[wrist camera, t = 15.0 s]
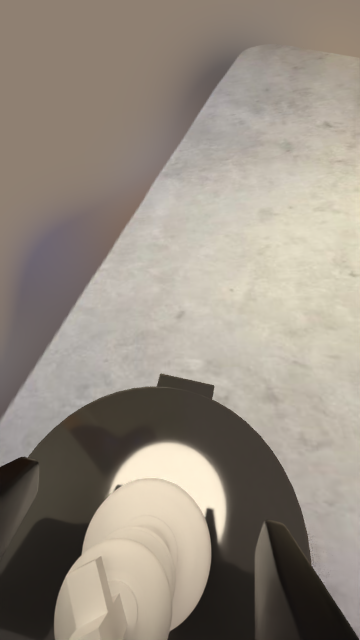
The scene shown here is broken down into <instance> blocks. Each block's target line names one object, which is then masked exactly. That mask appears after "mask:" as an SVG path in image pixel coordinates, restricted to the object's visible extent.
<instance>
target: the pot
mask: <svg viewBox="0 0 360 640" xmlns="http://www.w3.org/2000/svg"><path fill="white" fill-rule="evenodd" d="M213 391H214V385H210V384H206V383H201V382H197V381H192V380H188V379H183V378H179V377H174V376H169V375H165V374H160V377H159V380H158V384H157V387H141V388H133V389H128V390H124V391H119V392H116V393H113V394H110V395H107V396H105V397H102V398H99V399H97V400H95V401H93V402H91V403H89V404H87V405H85V406H84V407H82V408H80V409H79V410H77V411H76V412H74V413H73V414H71V415H70V416H68V417H67V418H66V419H65V420H63V421H62V422H61V423H60V424H59V425H57V426H56V427H55V428H54V429H53V430H52V431H51V432H50V433H49V434H48V435H47V436H46V437H45V438H44V439H43V440H42V441H41V442H40V443H39V444H38V445H37V447H36V448H35V449H34V450H33V452H32V453H31V454H30V455H29V457H28V458H31V459H35V460H37V461H38V462H39V482H38V491H37V494H36V497H35V499H34V501H33V503H32V504H31V506H30V508H29V510H28V512H27V513H26V515H25V517H24V519H23V521H22V522H21V524H20V526H19V528H18V530H17V531H16V533H15V535H14V537H13V539H12V540H11V542H10V544H9V546H8V548H7V549H6V551H5V553H4V555H3V557H2V558H1V560H0V640H55V635H54V615H55V607H56V602H57V598H58V595H59V592H60V589H61V586H62V584H63V581H64V579H65V577H66V575H67V574H68V572H69V570H70V569H71V567H72V566H73V564H74V563H75V562H76V561H77V560H78V558H79V557H80V556H81V555H82V548H83V543H84V539H85V535H86V532H87V529H88V526H89V524H90V522H91V520H92V518H93V516H94V514H95V513H96V511H97V509H98V508H99V507H100V505H101V504H102V503H103V502H104V501H105V500H106V498H107V497H108V496H109V495H110V494H112V493H113V492H114V491H115V490H117V489H118V488H119V487H121V486H123V485H125V484H127V483H129V482H131V481H134V480H138V479H143V478H158V479H163V480H167V481H169V482H172V483H174V484H176V485H178V486H179V487H181V488H182V489H183V490H185V491H186V492H187V493H188V494H189V495H190V496H191V497H192V498H193V499H194V501H195V502H196V503H197V505H198V506H199V508H200V510H201V511H202V513H203V516H204V518H205V520H206V523H207V526H208V530H209V534H210V540H211V565H210V571H209V576H208V580H207V583H206V586H205V589H204V591H203V594H202V596H201V598H200V600H199V602H198V604H197V605H196V607H195V608H194V610H193V611H192V612H191V614H190V615H189V616H188V617H187V618H186V619H185V620H184V621H183V622H182V623H181V624H180V625H178V626H177V627H176V628H174V629H173V630H171V631H170V632H169V635H168V639H167V640H255V550H256V545H257V542H258V539H259V535H260V532H261V529H262V525H263V523H264V521H265V520H272V521H276V522H280V523H283V524H284V525H285V526H286V527H287V529H288V530H289V532H290V534H291V535H292V537H293V538H294V540H295V541H296V543H297V544H298V546H299V547H300V549H301V550H302V552H303V554H304V555H305V557H306V558H307V560H308V561H309V563H310V564H311V556H310V549H309V542H308V535H307V531H306V527H305V523H304V519H303V515H302V511H301V508H300V505H299V503H298V500H297V497H296V494H295V492H294V489H293V487H292V485H291V483H290V481H289V479H288V477H287V475H286V473H285V471H284V469H283V467H282V465H281V464H280V462H279V461H278V459H277V458H276V456H275V454H274V453H273V451H272V450H271V449H270V447H269V446H268V445H267V444H266V442H265V441H264V440H263V439H262V438H261V436H260V435H259V434H258V433H257V432H256V431H255V430H254V429H253V428H252V427H251V426H250V425H249V424H248V423H247V422H246V421H244V420H243V419H242V418H240V417H239V416H238V415H237V414H235V413H234V412H233V411H231V410H230V409H228V408H226V407H225V406H223V405H221V404H220V403H218V402H216V401H214V400H212V397H213Z"/></svg>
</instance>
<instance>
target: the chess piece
mask: <svg viewBox="0 0 360 640" xmlns="http://www.w3.org/2000/svg"><path fill="white" fill-rule="evenodd" d="M210 565H211V540H210V534H209V530H208V526H207V523H206V520H205V518H204V516H203V513H202V511H201V510H200V508H199V506H198V505H197V503H196V502H195V501H194V499H193V498H192V497H191V496H190V495H189V494H188V493H187V492H186V491H185V490H183V489H182V488H181V487H179V486H178V485H176V484H174V483H172V482H169V481H167V480H163V479H158V478H143V479H138V480H134V481H131V482H129V483H127V484H125V485H123V486H121V487H119V488H118V489H117V490H115V491H114V492H113V493H112V494H110V495H109V496H108V497H107V498H106V500H105V501H104V502H103V503H102V504H101V505H100V507H99V508H98V509H97V511H96V513H95V514H94V516H93V518H92V520H91V522H90V524H89V526H88V529H87V532H86V535H85V539H84V543H83V548H82V555H81V556H80V557H79V558H78V560H77V561H76V562H75V563H74V564H73V566H72V567H71V569H70V570H69V572H68V574H67V575H66V577H65V579H64V581H63V584H62V586H61V589H60V592H59V595H58V598H57V602H56V607H55V615H54V635H55V640H167V639H168V635H169V632H170V631H171V630H173V629H174V628H176V627H177V626H178V625H180V624H181V623H182V622H183V621H184V620H185V619H186V618H187V617H188V616H189V615H190V614H191V612H192V611H193V610H194V608H195V607H196V605H197V604H198V602H199V600H200V598H201V596H202V594H203V591H204V589H205V586H206V583H207V580H208V576H209V571H210Z"/></svg>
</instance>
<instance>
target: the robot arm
mask: <svg viewBox="0 0 360 640" xmlns="http://www.w3.org/2000/svg"><path fill="white" fill-rule="evenodd" d="M38 482H39V462H38V461H37V460H35V459H31V458H27V457H20V458H18V459H16V460H14V461H12V462H10V463H8V464H6V465H3V466H1V467H0V560H1V558H2V557H3V555H4V553H5V551H6V549H7V548H8V546H9V544H10V542H11V540H12V539H13V537H14V535H15V533H16V531H17V530H18V528H19V526H20V524H21V522H22V521H23V519H24V517H25V515H26V513H27V512H28V510H29V508H30V506H31V504H32V503H33V501H34V499H35V497H36V494H37V491H38ZM255 640H359V638H358V637H357V635H356V634H355V632H354V630H353V629H352V627H351V626H350V624H349V623H348V621H347V620H346V618H345V617H344V615H343V614H342V612H341V610H340V609H339V607H338V606H337V604H336V603H335V601H334V600H333V598H332V597H331V595H330V594H329V592H328V590H327V589H326V587H325V586H324V584H323V583H322V581H321V580H320V578H319V577H318V575H317V574H316V572H315V570H314V569H313V567H312V566H311V564H310V563H309V561H308V560H307V558H306V557H305V555H304V554H303V552H302V550H301V549H300V547H299V546H298V544H297V543H296V541H295V540H294V538H293V537H292V535H291V534H290V532H289V530H288V529H287V527H286V526H285V525H284V524H283V523H280V522H276V521H272V520H265V521H264V523H263V525H262V529H261V532H260V535H259V539H258V542H257V545H256V550H255Z"/></svg>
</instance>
